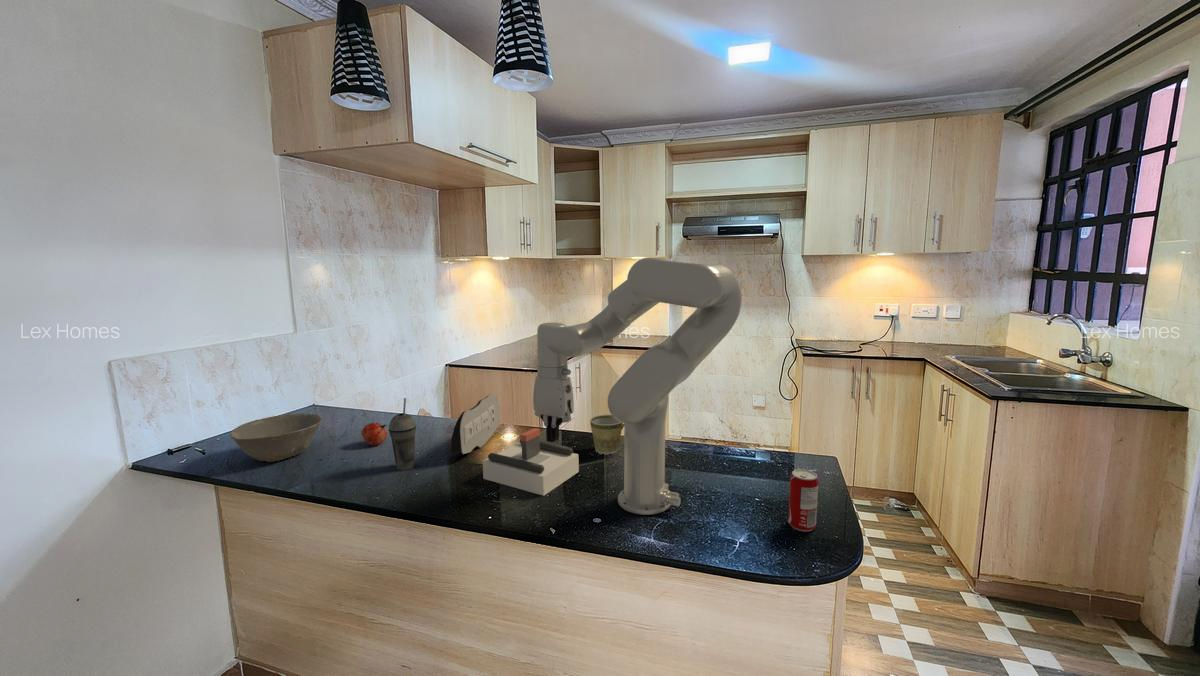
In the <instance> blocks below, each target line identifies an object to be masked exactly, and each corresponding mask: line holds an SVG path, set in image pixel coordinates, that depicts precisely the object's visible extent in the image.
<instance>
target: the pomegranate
mask: <svg viewBox="0 0 1200 676" xmlns="http://www.w3.org/2000/svg"><path fill="white" fill-rule="evenodd" d="M385 427H389V426H388V425H387V424H381V423H378V422H377V423H376V422H370V423H368V424H366V425H364V427H363V428H362V430H361V432H360V434H361V436H362V437H363V440H364V441H363V443H364V444H365V443H368V444H369V445H370V446H373V445H374V446H379V445H380V444H382V443H383V442H384V441H385V440H386V439H387V437H388V431H387V428H385Z"/></svg>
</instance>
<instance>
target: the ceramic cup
mask: <svg viewBox="0 0 1200 676" xmlns="http://www.w3.org/2000/svg"><path fill="white" fill-rule="evenodd" d="M589 424H590V428H591V433H592V438H593V439H592V440H593V444H594V449H595V452H596V453H597V452H598V454H599V455H602V454H604V455H603V456H610V455H609V454H612V455H615V454H614V453H616V452H617V453H618V451H619V447H620V446H619V445H620V442H621V441H622V439H624V435H623V436H622V435H621V434H622V430H623V429H624V427H625V424H624V423H621V422H619V421H617V420H616V419H615V418H614V417H613V416H612V415H611V414H599V415H595V416H592V417H591V418H590V419H589ZM617 453H616V454H617Z"/></svg>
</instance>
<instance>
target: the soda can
mask: <svg viewBox="0 0 1200 676" xmlns="http://www.w3.org/2000/svg"><path fill="white" fill-rule="evenodd" d="M818 497H819V479H818V474H816V472H814V471H812V470H809V469H805V468H804V469H802V468H801V469H800V468H799V469H794V470H793V471H792V472H791V475H790V480H789V496H788V499H789V500H788V513H787V515H788V516H787V517H788V518H787V522H788V524H789V525H790V527H792V529H794V530H797V531H799V532H800V531H801V532H805V533H806V532H812V531H813V530H815V528H816V526H817V513H818V512H817V511H818Z"/></svg>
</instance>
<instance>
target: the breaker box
mask: <svg viewBox="0 0 1200 676" xmlns="http://www.w3.org/2000/svg"><path fill="white" fill-rule="evenodd" d="M539 442H540V453H538V454H536V455H534V456H532V457H531V458H529V459H527V460H526V459H522V442H521V441H520V440H519V442H518V443H516V444H513V445H512V446H509V447H507V448H506V449H504V450H501V451H500V452H498V453H494V452H490V453H489V454H488V455H487V458H485V459H483V460H482V475H483V476H482V477H483V480H486V481H491V482H495V483H497V484H501V485H505V486H508V487H512V488H516V489H519V490H521V491H525V492H529V493H533V494H536V495H540V496H543V497H544V496H545V495H547V494H549V493H550V492H551V491H553V490H554V489H556V488H557V487H559V486H561V484H563V483H564V482H566V481H568V480H569V479H570V478H572V477H573V476H575V475H576V474H577V473H579V472H580V471H579V470H580V464H579V463H580V462H579V460H580V459H579V454H578V453H574V449H573V448H572V447H568V446H563V445H559V444H555V443H552V442H547V441H546V442H545V441H541V440H539Z"/></svg>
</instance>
